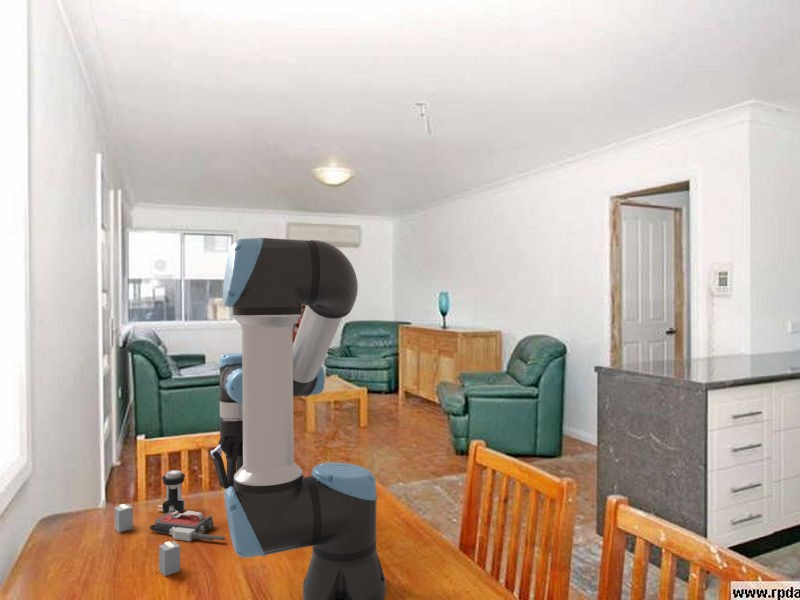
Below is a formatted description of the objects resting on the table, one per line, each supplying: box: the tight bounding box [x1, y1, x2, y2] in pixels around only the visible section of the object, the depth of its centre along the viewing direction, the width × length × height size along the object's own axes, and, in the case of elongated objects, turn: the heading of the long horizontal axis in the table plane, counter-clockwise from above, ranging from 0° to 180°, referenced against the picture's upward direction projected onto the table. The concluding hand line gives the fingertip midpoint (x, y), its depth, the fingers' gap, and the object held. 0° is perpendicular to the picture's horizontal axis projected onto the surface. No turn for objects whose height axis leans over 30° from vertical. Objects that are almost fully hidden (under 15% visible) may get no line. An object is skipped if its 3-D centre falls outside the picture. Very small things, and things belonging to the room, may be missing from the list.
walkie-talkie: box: [149, 510, 226, 542], centre depth 129 cm, size 9×4×20 cm
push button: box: [157, 469, 186, 514], centre depth 141 cm, size 7×5×10 cm
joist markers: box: [114, 503, 181, 577], centre depth 121 cm, size 30×3×5 cm, turn 44°
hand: (236, 514), depth 136 cm, fingers closed
